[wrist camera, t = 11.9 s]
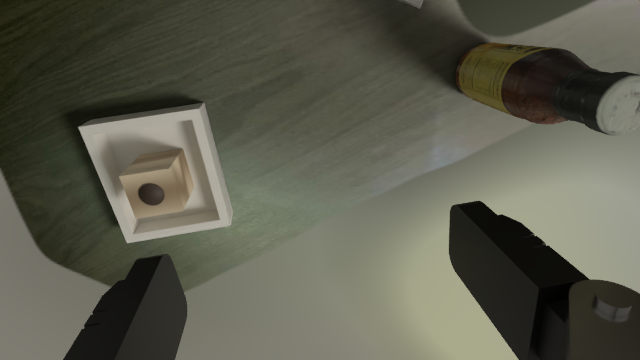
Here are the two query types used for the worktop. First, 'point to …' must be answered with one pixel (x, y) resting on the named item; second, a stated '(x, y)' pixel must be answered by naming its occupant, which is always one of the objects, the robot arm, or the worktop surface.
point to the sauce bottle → (550, 87)
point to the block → (158, 183)
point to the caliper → (413, 3)
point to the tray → (151, 137)
